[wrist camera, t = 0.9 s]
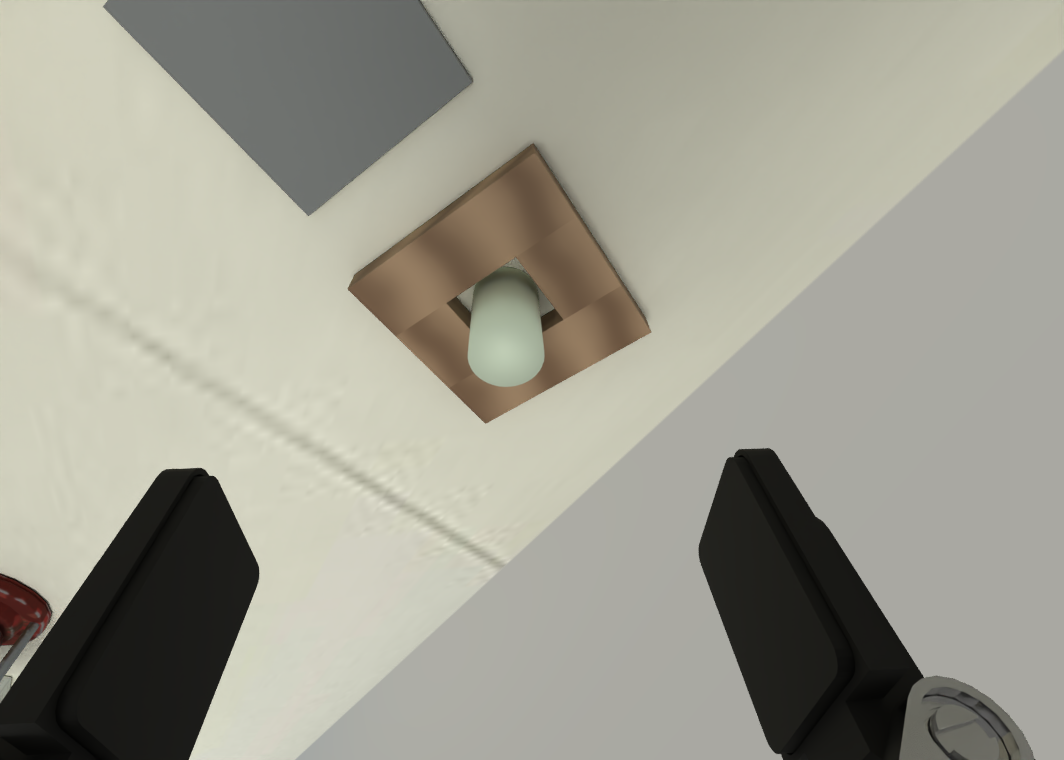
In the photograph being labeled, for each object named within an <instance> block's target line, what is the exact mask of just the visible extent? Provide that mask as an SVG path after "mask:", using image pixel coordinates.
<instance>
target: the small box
mask: <svg viewBox="0 0 1064 760" xmlns="http://www.w3.org/2000/svg"><path fill="white" fill-rule="evenodd" d="M10 685H11V677H8V676H4V677H3V678H2V680H1V681H0V703H1V701H2V700H3V698H4V697H5V696H6V694H7V693H8V691H9V690H10Z"/></svg>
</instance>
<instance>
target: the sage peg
mask: <svg viewBox="0 0 1064 760" xmlns="http://www.w3.org/2000/svg"><path fill="white" fill-rule="evenodd" d="M468 362H469V365H470V367H471V369H472V371H473V372H474V373H475V375H476V376H478V377H479V378H480V379H481V380H483V381H485V382H486V383H489V384H491V385H495V386H500V387H512V386H517V385H521V384H523V383H526V382H528V381H529V380H531V379H532V378H533V377H535V376H536V375H537V373H538V372H539V371H540V369H541V367H542V365H543V362H544V345H543V336H542V326H541V317H540V307H539V297H538V290H537V287H536V285H535V283H534V281H533V280H532V278H531V277H530V276H529V275H527V274H526V273H525V272H523V271H521V270H519V269H516V268H512V267H500V268H499V269H497V270H495V271H494V272H492V273H491V274H489V275H488V276H486V277H485V278H483V279H482V280H480V281H479V282H477V283H476V285H475V288H474V292H473V303H472V313H471V324H470V334H469V345H468Z"/></svg>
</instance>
